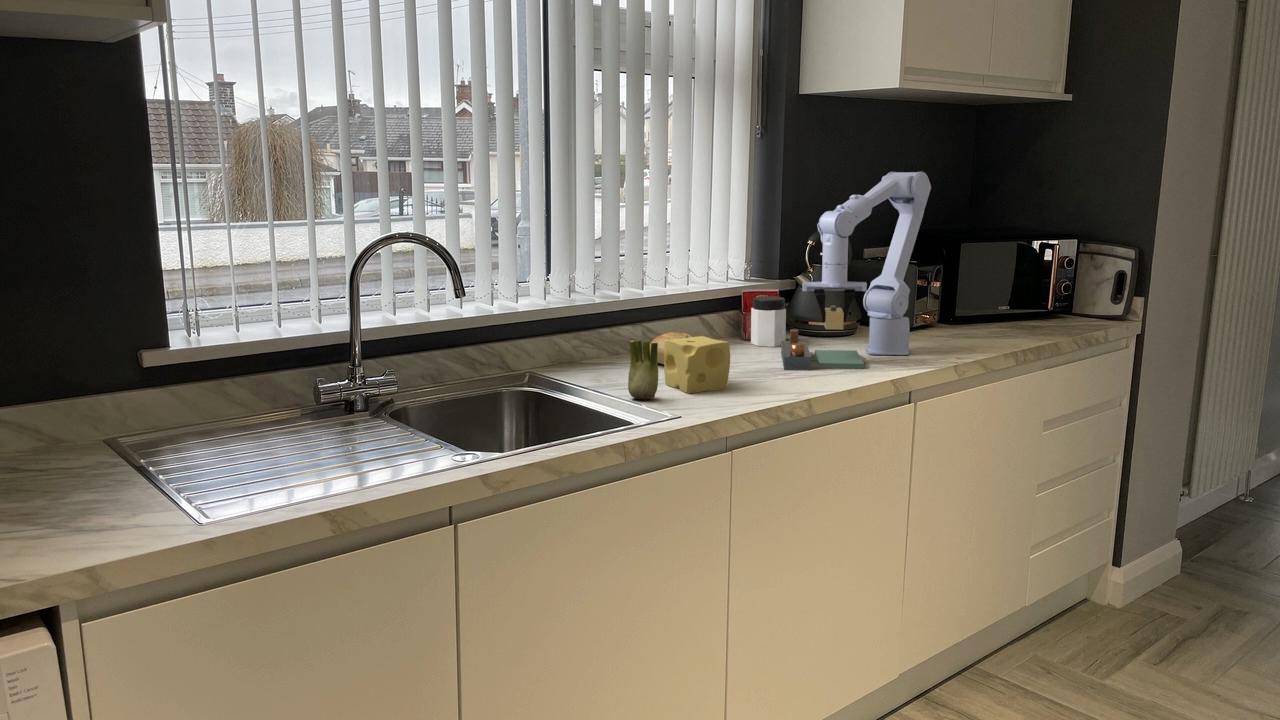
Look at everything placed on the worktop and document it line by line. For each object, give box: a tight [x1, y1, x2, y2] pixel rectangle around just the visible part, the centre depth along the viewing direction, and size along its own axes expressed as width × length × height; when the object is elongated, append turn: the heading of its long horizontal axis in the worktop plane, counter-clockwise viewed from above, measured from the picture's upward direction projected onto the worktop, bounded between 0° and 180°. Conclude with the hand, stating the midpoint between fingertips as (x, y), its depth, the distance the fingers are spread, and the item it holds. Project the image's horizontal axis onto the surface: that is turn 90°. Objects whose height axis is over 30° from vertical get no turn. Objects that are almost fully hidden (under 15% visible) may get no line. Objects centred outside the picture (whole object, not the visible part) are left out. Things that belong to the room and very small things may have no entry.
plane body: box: [780, 329, 812, 371], centre depth 230 cm, size 20×6×6 cm, turn 174°
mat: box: [814, 349, 865, 370], centre depth 229 cm, size 10×16×1 cm, turn 174°
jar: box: [750, 295, 787, 348], centre depth 251 cm, size 9×8×12 cm
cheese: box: [663, 335, 731, 395], centre depth 204 cm, size 10×11×10 cm
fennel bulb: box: [627, 339, 659, 401], centre depth 194 cm, size 6×5×12 cm
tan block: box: [823, 305, 844, 330], centre depth 227 cm, size 7×4×5 cm, turn 173°
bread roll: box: [650, 331, 693, 365], centre depth 226 cm, size 10×15×8 cm, turn 41°
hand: (833, 321), depth 228 cm, fingers closed on tan block, 4 cm apart
